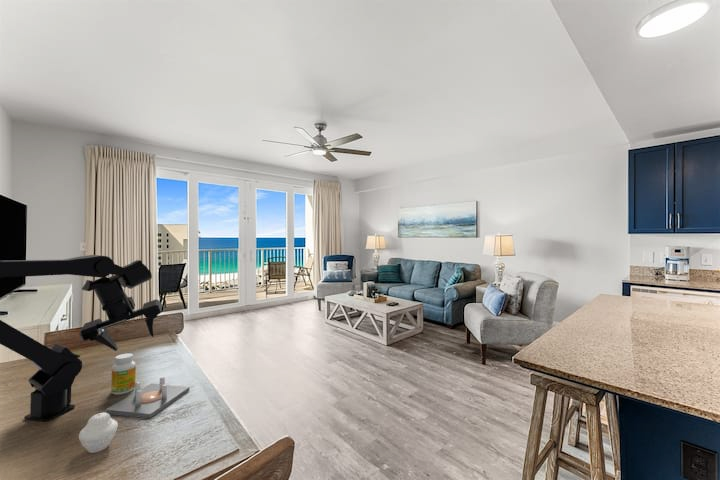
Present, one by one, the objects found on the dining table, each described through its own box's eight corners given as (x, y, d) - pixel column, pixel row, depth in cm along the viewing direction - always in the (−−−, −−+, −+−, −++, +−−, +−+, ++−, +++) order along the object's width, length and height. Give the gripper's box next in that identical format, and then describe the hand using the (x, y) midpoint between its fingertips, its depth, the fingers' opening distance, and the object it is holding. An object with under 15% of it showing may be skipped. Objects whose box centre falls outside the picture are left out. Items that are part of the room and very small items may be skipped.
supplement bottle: (114, 397, 84) (115, 361, 84) (108, 390, 87) (109, 356, 87) (138, 389, 88) (139, 355, 88) (131, 384, 91) (132, 351, 91)
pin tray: (150, 418, 74) (150, 399, 74) (105, 413, 76) (106, 395, 76) (189, 390, 88) (189, 374, 88) (151, 387, 90) (151, 371, 90)
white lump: (85, 462, 59) (86, 425, 59) (73, 450, 63) (74, 415, 63) (123, 444, 65) (123, 411, 65) (110, 434, 68) (111, 402, 68)
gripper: (152, 276, 97) (170, 318, 102) (78, 299, 89) (102, 343, 94) (150, 288, 88) (170, 334, 93) (67, 315, 80) (94, 363, 85)
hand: (135, 342), depth 92 cm, fingers open, 9 cm apart
